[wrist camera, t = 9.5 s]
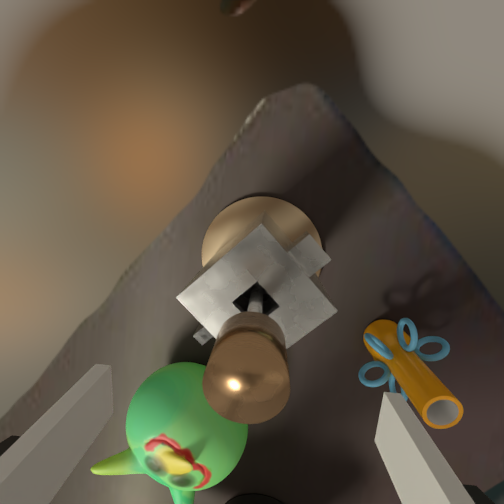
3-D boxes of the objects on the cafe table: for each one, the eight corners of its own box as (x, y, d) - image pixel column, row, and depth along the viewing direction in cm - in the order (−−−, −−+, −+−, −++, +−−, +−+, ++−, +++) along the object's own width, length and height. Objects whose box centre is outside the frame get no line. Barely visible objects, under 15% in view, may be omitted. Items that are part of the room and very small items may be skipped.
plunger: (300, 275, 32) (346, 397, 13) (256, 309, 34) (240, 465, 14) (262, 232, 31) (252, 294, 12) (219, 268, 33) (148, 377, 13)
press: (322, 251, 39) (361, 294, 22) (242, 314, 42) (225, 393, 25) (277, 199, 37) (284, 203, 21) (199, 267, 40) (151, 318, 24)
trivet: (346, 263, 40) (347, 264, 39) (255, 332, 43) (255, 335, 42) (267, 169, 37) (267, 169, 37) (179, 250, 41) (177, 251, 40)
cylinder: (351, 297, 41) (398, 356, 26) (421, 301, 40) (509, 362, 25) (343, 367, 43) (382, 456, 29) (409, 371, 43) (482, 464, 28)
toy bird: (269, 390, 45) (269, 481, 31) (209, 448, 49) (184, 554, 34) (187, 325, 44) (147, 390, 29) (130, 390, 47) (70, 476, 33)
